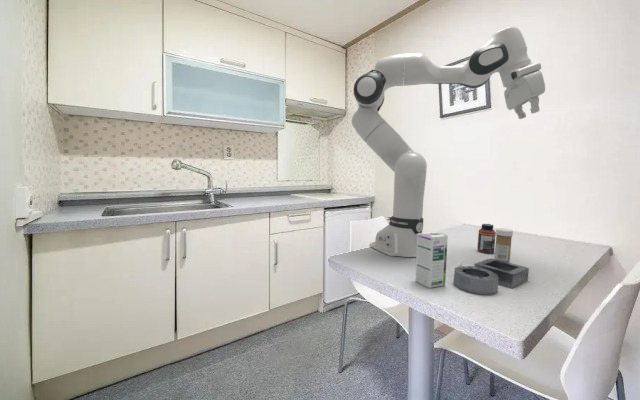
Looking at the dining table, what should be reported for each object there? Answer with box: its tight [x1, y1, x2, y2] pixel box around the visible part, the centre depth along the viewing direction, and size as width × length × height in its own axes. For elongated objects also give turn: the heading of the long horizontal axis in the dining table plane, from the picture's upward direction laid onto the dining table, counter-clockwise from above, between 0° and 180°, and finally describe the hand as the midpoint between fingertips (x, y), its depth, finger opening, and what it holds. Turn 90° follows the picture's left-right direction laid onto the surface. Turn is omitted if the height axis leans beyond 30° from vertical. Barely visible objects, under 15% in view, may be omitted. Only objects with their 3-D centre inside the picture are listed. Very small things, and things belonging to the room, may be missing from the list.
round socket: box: [453, 265, 499, 296], centre depth 76 cm, size 10×10×4 cm
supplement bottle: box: [476, 223, 496, 254], centre depth 111 cm, size 6×6×11 cm
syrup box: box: [415, 231, 449, 289], centre depth 78 cm, size 6×6×14 cm
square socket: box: [473, 258, 530, 289], centre depth 83 cm, size 10×10×4 cm
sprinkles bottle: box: [493, 227, 514, 263], centre depth 91 cm, size 5×5×14 cm
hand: (528, 115), depth 93 cm, fingers open, 8 cm apart
